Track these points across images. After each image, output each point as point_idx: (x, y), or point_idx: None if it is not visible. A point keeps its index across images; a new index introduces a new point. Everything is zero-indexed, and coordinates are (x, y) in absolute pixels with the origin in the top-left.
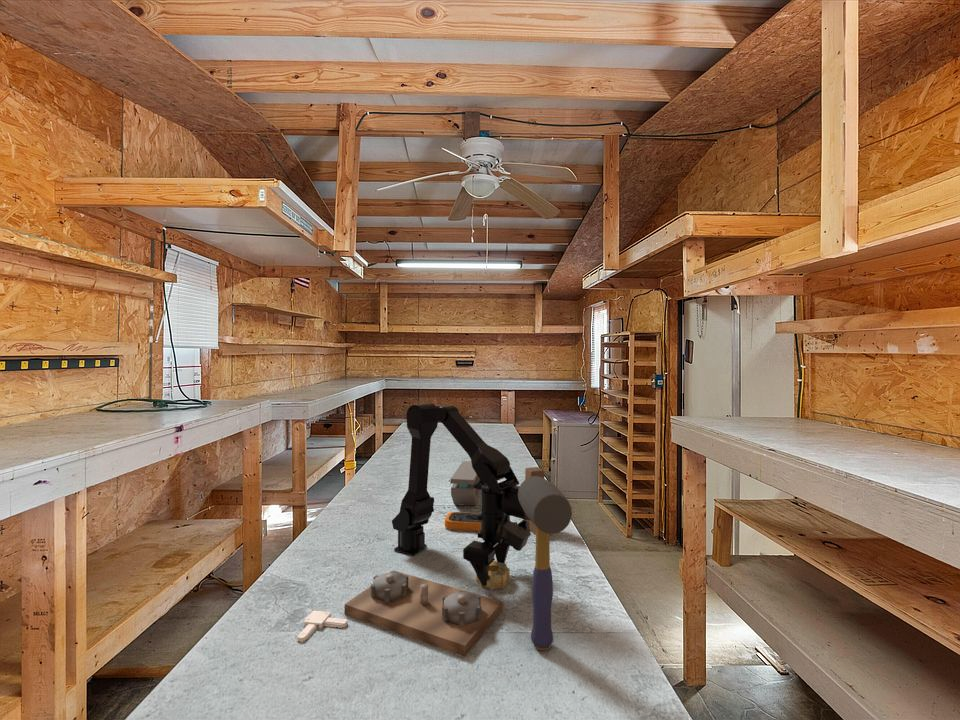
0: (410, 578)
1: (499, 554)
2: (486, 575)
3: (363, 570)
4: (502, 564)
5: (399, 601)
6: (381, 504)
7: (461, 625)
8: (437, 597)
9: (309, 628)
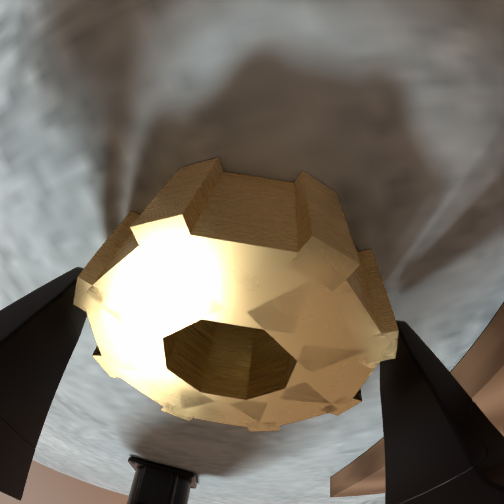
0: (372, 481)
1: (40, 369)
2: (464, 391)
3: (303, 494)
4: (106, 308)
5: None
6: (66, 466)
7: None
8: (501, 417)
9: None
